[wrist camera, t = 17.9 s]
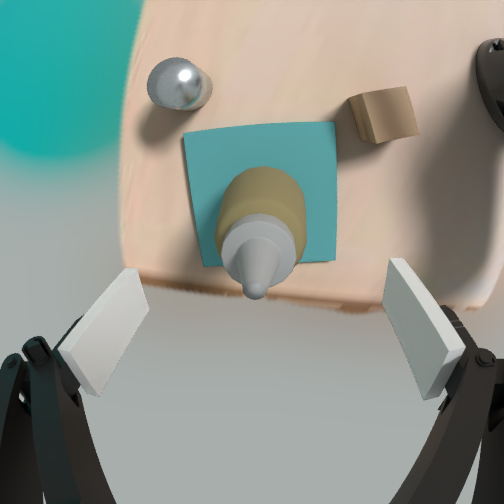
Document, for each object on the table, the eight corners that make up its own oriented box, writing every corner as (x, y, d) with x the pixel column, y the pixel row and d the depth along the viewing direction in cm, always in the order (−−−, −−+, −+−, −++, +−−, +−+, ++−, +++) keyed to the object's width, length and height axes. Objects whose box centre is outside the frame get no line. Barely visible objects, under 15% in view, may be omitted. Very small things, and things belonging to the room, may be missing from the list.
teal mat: (332, 122, 27) (334, 121, 26) (333, 256, 34) (335, 260, 33) (185, 133, 28) (183, 133, 28) (205, 262, 35) (203, 266, 34)
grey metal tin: (210, 65, 25) (196, 52, 20) (214, 106, 27) (201, 102, 22) (167, 73, 25) (145, 64, 20) (171, 114, 28) (149, 113, 22)
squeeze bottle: (212, 196, 30) (147, 282, 14) (266, 145, 28) (257, 172, 11) (263, 246, 33) (252, 366, 16) (317, 201, 30) (365, 293, 14)
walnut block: (387, 90, 25) (406, 86, 20) (398, 132, 26) (419, 134, 22) (347, 98, 26) (361, 93, 21) (361, 140, 27) (376, 143, 23)
